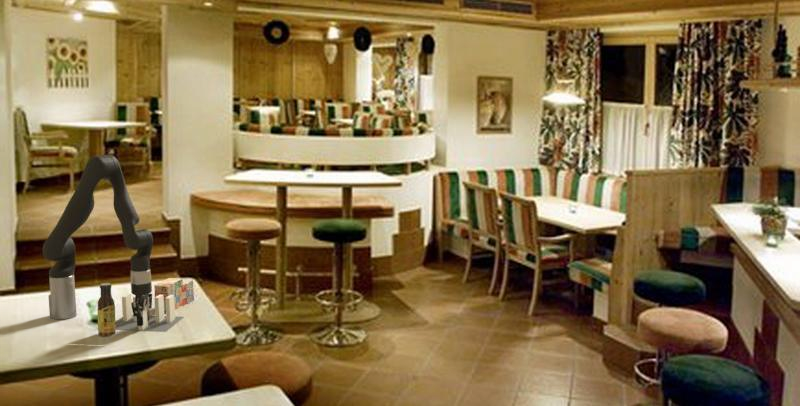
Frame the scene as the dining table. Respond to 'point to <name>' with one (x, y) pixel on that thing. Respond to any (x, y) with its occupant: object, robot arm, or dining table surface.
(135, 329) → the mat
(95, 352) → the dining table surface
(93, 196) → the robot arm
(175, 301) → the stack of blocks
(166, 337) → the dining table surface
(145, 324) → the domino
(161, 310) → the domino
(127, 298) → the domino
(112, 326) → the sauce bottle
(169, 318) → the domino
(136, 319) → the domino
